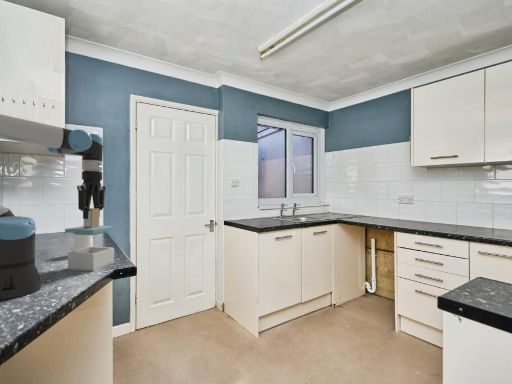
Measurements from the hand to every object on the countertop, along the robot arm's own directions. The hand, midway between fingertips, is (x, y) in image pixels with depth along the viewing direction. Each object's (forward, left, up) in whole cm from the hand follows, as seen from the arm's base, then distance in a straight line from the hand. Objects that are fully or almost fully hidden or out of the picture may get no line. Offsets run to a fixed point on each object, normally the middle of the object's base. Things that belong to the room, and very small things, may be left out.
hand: (91, 225), depth 118 cm
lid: (0, 0, -3) cm, 3 cm away
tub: (0, 0, -17) cm, 17 cm away
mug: (+17, +22, -18) cm, 33 cm away
